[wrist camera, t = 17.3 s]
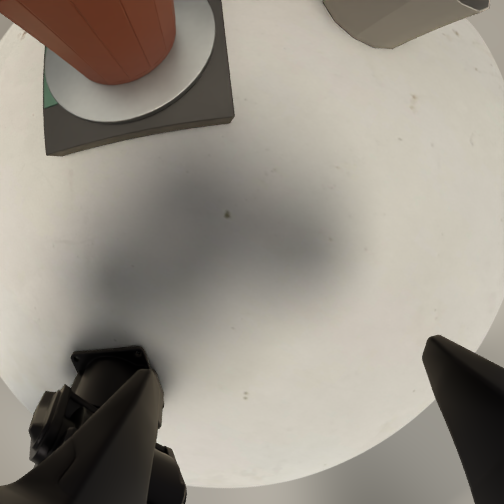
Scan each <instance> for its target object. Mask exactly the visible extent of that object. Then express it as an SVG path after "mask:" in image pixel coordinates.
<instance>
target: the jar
mask: <svg viewBox="0 0 504 504" xmlns="http://www.w3.org/2000/svg"><path fill="white" fill-rule="evenodd" d="M0 13H1V14H3V15H4V16H5V17H7V18H8V19H10V20H11V21H12V22H14V23H15V24H16V25H18V26H19V27H21V28H22V29H23V30H25V31H26V32H27V33H29V34H30V35H31V36H33V37H34V38H35V39H37V40H38V41H39V42H41V43H42V44H43V45H45V46H46V47H47V48H49V49H50V50H51V51H53V52H54V53H55V54H57V55H58V56H59V57H61V58H62V59H63V60H64V61H66V62H67V63H68V64H70V65H71V66H72V67H74V68H75V69H76V70H77V71H79V72H80V73H81V74H83V75H84V76H85V77H87V78H88V79H89V80H91V81H94V82H96V83H99V84H104V85H118V84H124V83H128V82H131V81H134V80H137V79H139V78H141V77H143V76H145V75H146V74H148V73H149V72H151V71H152V70H153V69H155V68H156V67H157V66H158V65H159V64H160V63H161V62H162V61H163V60H164V59H165V58H166V56H167V55H168V53H169V52H170V50H171V48H172V46H173V43H174V40H175V36H176V17H175V9H174V1H173V0H0Z"/></svg>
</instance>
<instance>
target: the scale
mask: <svg viewBox="0 0 504 504" xmlns="http://www.w3.org/2000/svg"><path fill="white" fill-rule="evenodd" d="M207 1H208V3H209V4H210V6H211V8H212V11H213V14H214V18H215V23H216V36H215V43H214V48H213V52H212V55H211V58H210V60H209V62H208V65H207V67H206V69H205V70H204V72H203V73H202V75H201V77H200V78H199V79H198V80H197V82H196V83H195V84H194V85H193V86H192V87H191V88H190V89H189V90H188V91H187V92H186V93H185V94H184V95H183V96H182V97H181V98H179V99H178V100H177V101H176V102H174V103H173V104H171V105H170V106H168V107H167V108H165V109H163V110H161V111H159V112H157V113H155V114H153V115H151V116H148V117H146V118H143V119H140V120H136V121H133V122H128V123H121V124H100V123H94V122H90V121H86V120H84V119H81V118H79V117H76V116H74V115H72V114H71V113H69V112H67V111H66V110H65V109H64V108H62V107H61V106H60V105H59V104H58V103H57V101H56V100H55V99H54V98H53V96H52V94H51V92H50V90H49V88H48V85H47V82H46V77H45V56H46V51H47V47H46V46H45V54H44V72H43V116H44V135H45V148H46V155H47V156H64V155H68V154H71V153H75V152H78V151H82V150H86V149H90V148H93V147H97V146H101V145H105V144H110V143H114V142H118V141H123V140H127V139H132V138H137V137H142V136H147V135H152V134H158V133H163V132H169V131H175V130H181V129H188V128H195V127H202V126H210V125H218V124H227V123H230V122H231V121H232V119H233V118H234V116H235V115H234V107H233V98H232V89H231V81H230V72H229V63H228V55H227V46H226V37H225V29H224V20H223V11H222V2H221V0H207Z"/></svg>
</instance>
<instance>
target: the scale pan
mask: <svg viewBox="0 0 504 504" xmlns="http://www.w3.org/2000/svg"><path fill="white" fill-rule="evenodd" d="M173 1H174V9H175V17H176V36H175V40H174V43H173V46H172V48H171V50H170V52H169V53H168V55H167V56H166V58H165V59H164V60H163V61H162V62H161V63H160V64H159V65H158V66H157V67H156V68H155V69H153V70H152V71H151V72H149V73H148V74H146V75H145V76H143V77H141V78H139V79H137V80H134V81H131V82H128V83H124V84H118V85H104V84H99V83H96V82H94V81H91V80H89V79H88V78H87V77H85V76H84V75H83V74H81V73H80V72H79V71H77V70H76V69H75V68H74V67H72V66H71V65H70V64H68V63H67V62H66V61H64V60H63V59H62V58H61V57H59V56H58V55H57V54H55V53H54V52H53V51H51V50H50V49H49V48H47V51H46V56H45V77H46V82H47V85H48V88H49V90H50V92H51V94H52V96H53V98H54V99H55V100H56V101H57V103H58V104H59V105H60V106H61V107H62V108H64V109H65V110H66V111H67V112H69V113H71V114H72V115H74V116H76V117H79V118H81V119H84V120H86V121H90V122H94V123H100V124H121V123H128V122H133V121H136V120H140V119H143V118H146V117H148V116H151V115H153V114H155V113H157V112H159V111H161V110H163V109H165V108H167V107H168V106H170V105H171V104H173V103H174V102H176V101H177V100H178V99H179V98H181V97H182V96H183V95H184V94H185V93H186V92H187V91H188V90H189V89H190V88H191V87H192V86H193V85H194V84H195V83H196V82H197V80H198V79H199V78H200V77H201V75H202V73H203V72H204V70H205V69H206V67H207V65H208V62H209V60H210V58H211V55H212V52H213V48H214V43H215V36H216V23H215V18H214V14H213V11H212V8H211V6H210V4H209V3H208V1H207V0H173Z"/></svg>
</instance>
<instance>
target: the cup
mask: <svg viewBox="0 0 504 504" xmlns="http://www.w3.org/2000/svg"><path fill="white" fill-rule="evenodd" d="M323 2H324V4H325V6H326V8H327V9H328V11H329V12H330V14H331V16H332V17H333V19H334V21H335V22H336V23H337V24H339V25H340V26H341V27H342V28H343V29H344V30H345V31H347V32H348V33H349V34H350V35H351V36H352V37H353V38H355V39H357V40H359V41H362V42H364V43H366V44H368V45H370V46H372V47H374V48H387V49H393V48H395V47H397V46H400V45H402V44H404V43H406V42H408V41H410V40H413V39H415V38H417V37H419V36H422V35H424V34H426V33H429V32H431V31H433V30H436V29H438V28H441V27H443V26H445V25H448V24H451V23H453V22H456V21H458V20H461V19H464V18H466V17H469V16H472V15H475V14H478V13H481V12H483V11H485V10H487V9H489V8H490V0H323Z"/></svg>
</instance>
